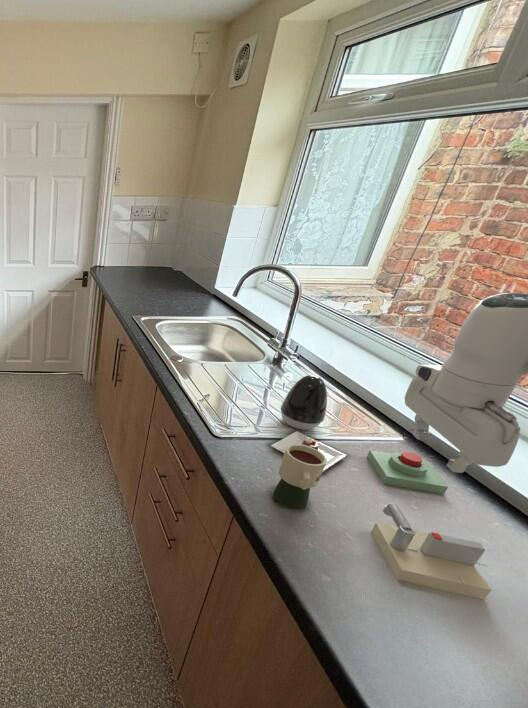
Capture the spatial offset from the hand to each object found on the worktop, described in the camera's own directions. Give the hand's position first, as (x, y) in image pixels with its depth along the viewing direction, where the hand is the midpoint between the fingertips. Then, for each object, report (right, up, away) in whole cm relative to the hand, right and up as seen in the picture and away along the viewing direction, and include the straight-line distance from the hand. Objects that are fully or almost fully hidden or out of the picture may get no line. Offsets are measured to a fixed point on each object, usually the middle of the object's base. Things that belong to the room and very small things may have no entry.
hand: (435, 453), depth 77 cm
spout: (-7, -15, +1) cm, 17 cm away
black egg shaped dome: (+1, 0, +39) cm, 39 cm away
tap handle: (-2, -18, -4) cm, 18 cm away
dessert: (-4, -6, +28) cm, 29 cm away
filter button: (+13, -6, +19) cm, 23 cm away
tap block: (-3, -21, -2) cm, 21 cm away
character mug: (-19, -14, +13) cm, 27 cm away
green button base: (+13, -9, +20) cm, 26 cm away
